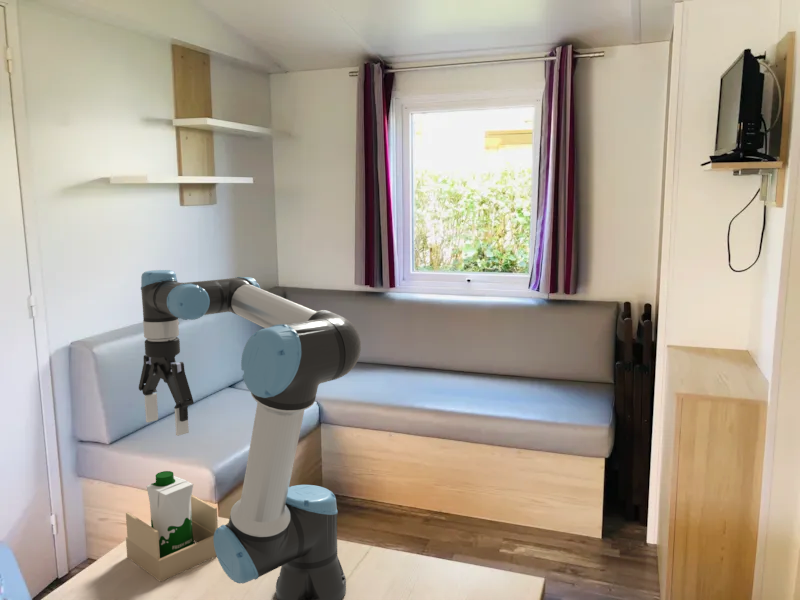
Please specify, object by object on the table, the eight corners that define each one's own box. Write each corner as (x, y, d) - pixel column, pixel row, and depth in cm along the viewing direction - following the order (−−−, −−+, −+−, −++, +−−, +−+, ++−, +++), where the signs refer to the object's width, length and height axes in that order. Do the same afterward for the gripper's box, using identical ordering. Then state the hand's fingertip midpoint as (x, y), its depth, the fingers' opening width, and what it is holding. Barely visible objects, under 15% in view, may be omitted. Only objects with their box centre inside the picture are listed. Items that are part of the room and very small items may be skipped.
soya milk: (178, 542, 162) (174, 466, 159) (201, 553, 157) (197, 475, 154) (146, 557, 155) (142, 477, 152) (168, 570, 150) (164, 487, 147)
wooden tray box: (220, 553, 157) (218, 509, 155) (160, 581, 145) (157, 533, 143) (186, 532, 167) (183, 490, 165) (127, 557, 155) (124, 511, 154)
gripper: (206, 342, 143) (210, 435, 146) (150, 328, 159) (154, 412, 162) (175, 348, 137) (180, 444, 141) (120, 333, 154) (125, 419, 157)
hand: (166, 427), depth 151 cm, fingers open, 13 cm apart
